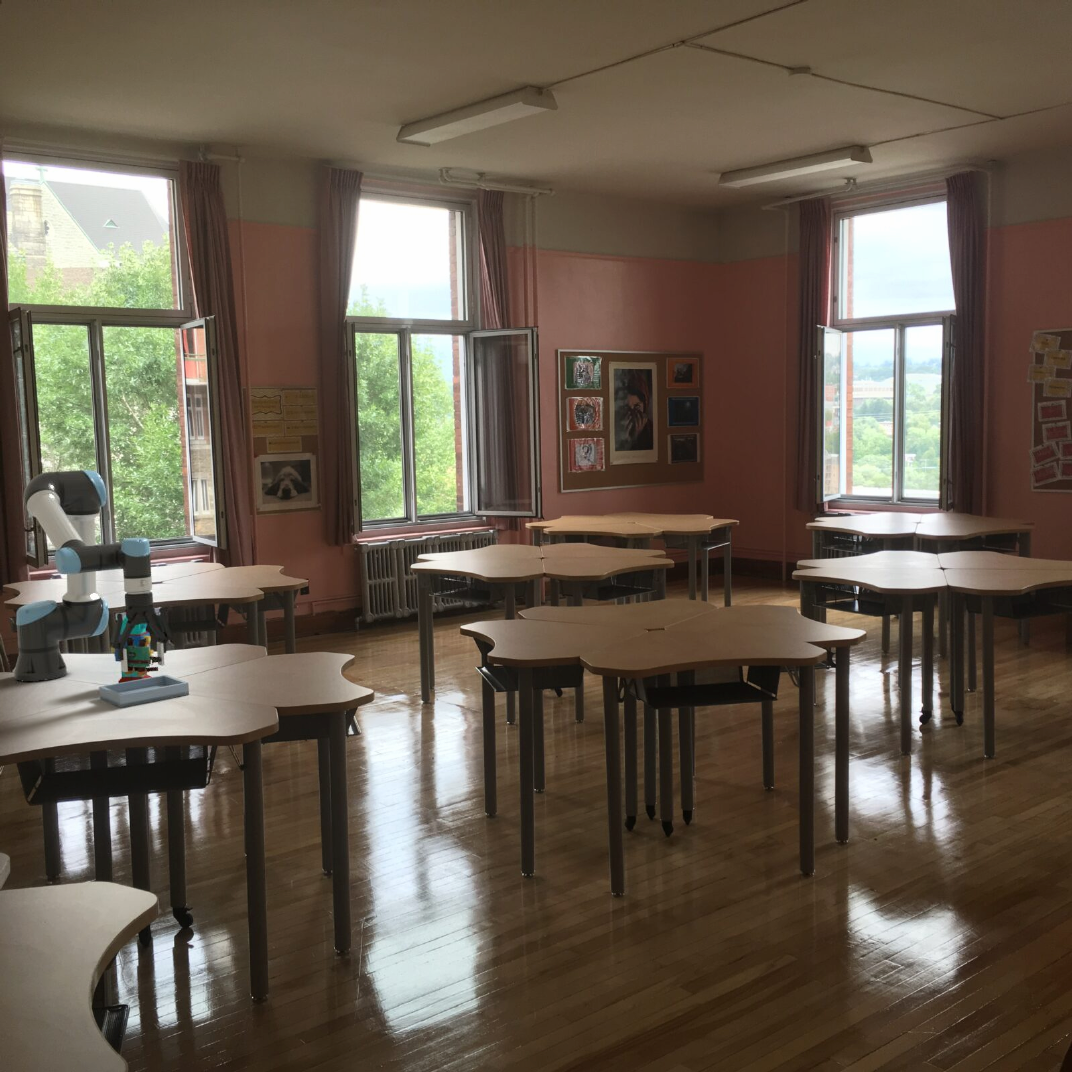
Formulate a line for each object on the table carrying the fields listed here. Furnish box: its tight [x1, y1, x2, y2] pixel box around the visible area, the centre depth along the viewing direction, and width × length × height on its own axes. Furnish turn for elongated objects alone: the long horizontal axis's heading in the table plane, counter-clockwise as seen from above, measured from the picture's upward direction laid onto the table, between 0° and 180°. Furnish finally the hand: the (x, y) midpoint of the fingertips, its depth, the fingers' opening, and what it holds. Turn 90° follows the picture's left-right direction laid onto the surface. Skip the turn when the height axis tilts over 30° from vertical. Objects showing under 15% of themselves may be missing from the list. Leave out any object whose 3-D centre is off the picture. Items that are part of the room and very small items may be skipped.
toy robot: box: [110, 616, 155, 683], centre depth 327 cm, size 12×6×25 cm, turn 84°
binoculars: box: [124, 637, 162, 676], centre depth 312 cm, size 9×11×10 cm
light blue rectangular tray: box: [98, 674, 190, 709], centre depth 314 cm, size 15×20×4 cm
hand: (143, 668), depth 313 cm, fingers closed on binoculars, 10 cm apart
